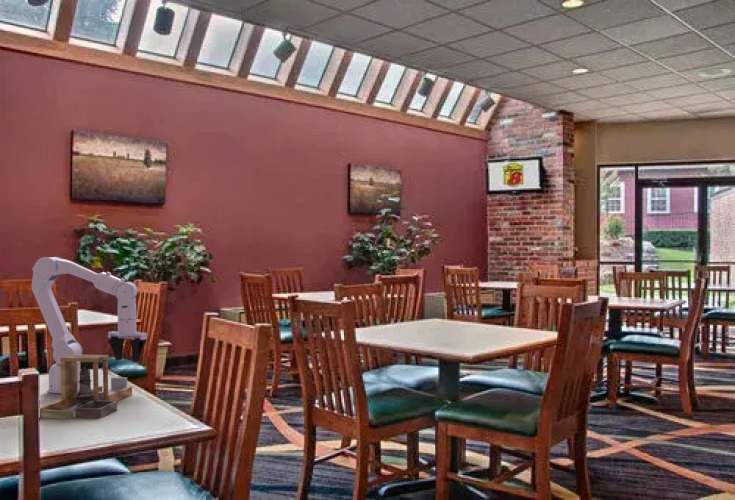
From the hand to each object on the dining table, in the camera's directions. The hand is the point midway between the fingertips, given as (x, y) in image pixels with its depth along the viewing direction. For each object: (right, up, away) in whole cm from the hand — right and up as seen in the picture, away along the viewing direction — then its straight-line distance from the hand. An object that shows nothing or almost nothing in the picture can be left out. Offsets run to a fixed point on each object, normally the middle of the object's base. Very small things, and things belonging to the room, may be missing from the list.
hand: (127, 360), depth 215 cm
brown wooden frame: (-1, -9, -23) cm, 25 cm away
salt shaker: (-4, -10, -23) cm, 25 cm away
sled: (-2, -9, -12) cm, 15 cm away
